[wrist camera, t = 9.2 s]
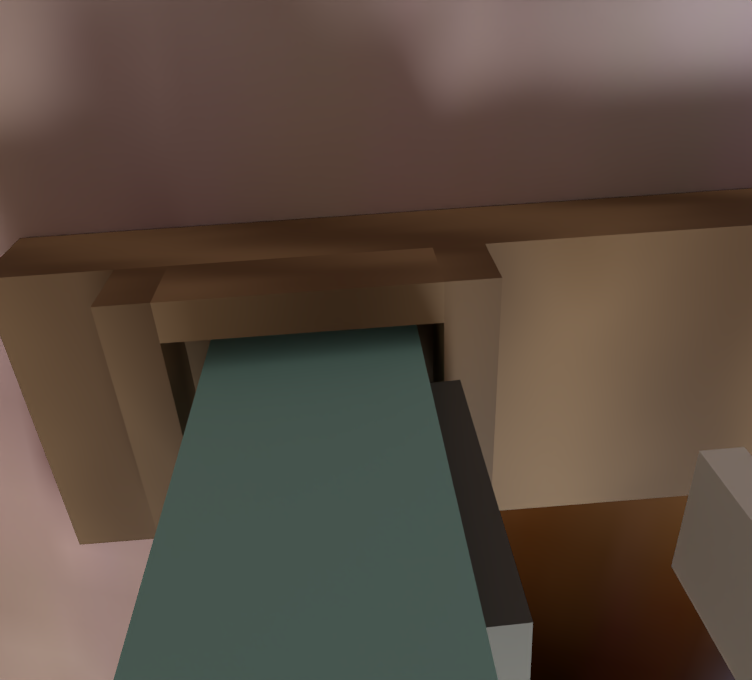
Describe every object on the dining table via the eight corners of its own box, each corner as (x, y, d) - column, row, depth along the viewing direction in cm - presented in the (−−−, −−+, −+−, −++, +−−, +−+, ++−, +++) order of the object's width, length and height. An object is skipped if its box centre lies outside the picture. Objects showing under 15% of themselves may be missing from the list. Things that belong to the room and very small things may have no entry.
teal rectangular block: (249, 482, 16) (189, 908, 9) (212, 331, 14) (98, 734, 7) (449, 460, 16) (543, 868, 9) (443, 307, 14) (560, 683, 7)
